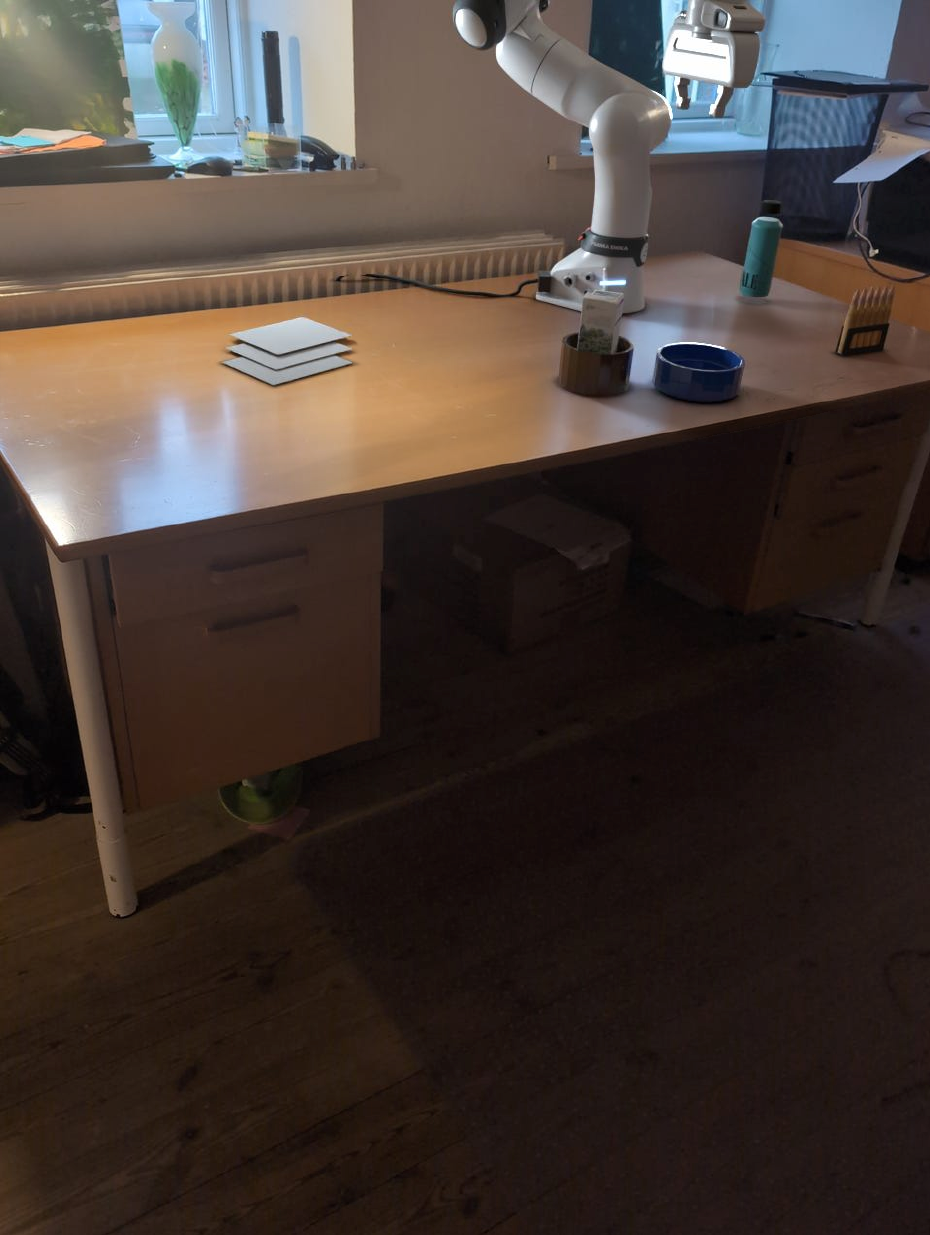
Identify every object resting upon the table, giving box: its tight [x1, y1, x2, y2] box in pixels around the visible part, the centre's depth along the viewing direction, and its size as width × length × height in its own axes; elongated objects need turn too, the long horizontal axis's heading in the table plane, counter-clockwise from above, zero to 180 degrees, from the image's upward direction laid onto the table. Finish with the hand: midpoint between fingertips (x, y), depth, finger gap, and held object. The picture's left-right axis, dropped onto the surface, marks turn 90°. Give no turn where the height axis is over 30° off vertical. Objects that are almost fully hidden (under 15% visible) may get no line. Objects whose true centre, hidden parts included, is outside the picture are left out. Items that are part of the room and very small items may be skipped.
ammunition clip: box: [834, 284, 896, 357], centre depth 185 cm, size 11×2×12 cm, turn 117°
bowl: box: [651, 342, 746, 403], centre depth 166 cm, size 14×14×6 cm
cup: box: [557, 331, 635, 398], centre depth 165 cm, size 12×12×7 cm
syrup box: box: [577, 289, 624, 353], centre depth 163 cm, size 6×6×14 cm
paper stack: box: [221, 316, 353, 386], centre depth 173 cm, size 23×25×1 cm
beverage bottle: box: [739, 199, 784, 298], centre depth 209 cm, size 6×7×20 cm
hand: (698, 113), depth 163 cm, fingers open, 8 cm apart
